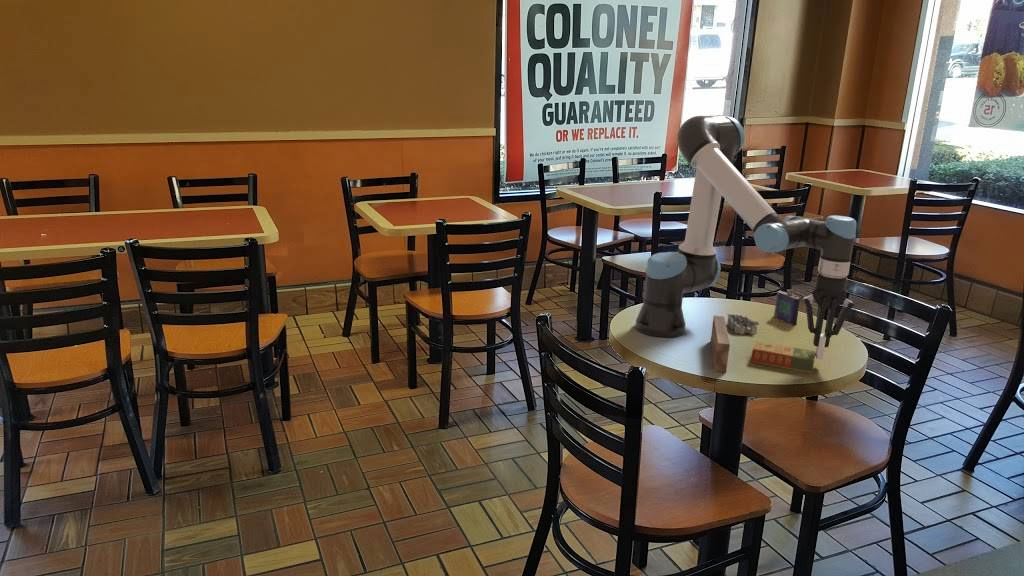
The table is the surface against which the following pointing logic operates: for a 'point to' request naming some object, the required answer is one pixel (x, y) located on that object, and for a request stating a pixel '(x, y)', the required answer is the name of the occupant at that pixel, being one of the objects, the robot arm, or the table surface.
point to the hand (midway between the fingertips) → (818, 357)
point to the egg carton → (742, 324)
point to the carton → (783, 356)
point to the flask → (787, 307)
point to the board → (719, 344)
